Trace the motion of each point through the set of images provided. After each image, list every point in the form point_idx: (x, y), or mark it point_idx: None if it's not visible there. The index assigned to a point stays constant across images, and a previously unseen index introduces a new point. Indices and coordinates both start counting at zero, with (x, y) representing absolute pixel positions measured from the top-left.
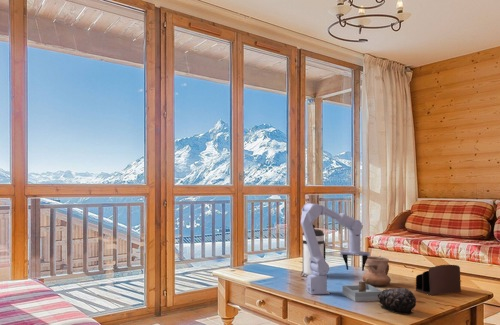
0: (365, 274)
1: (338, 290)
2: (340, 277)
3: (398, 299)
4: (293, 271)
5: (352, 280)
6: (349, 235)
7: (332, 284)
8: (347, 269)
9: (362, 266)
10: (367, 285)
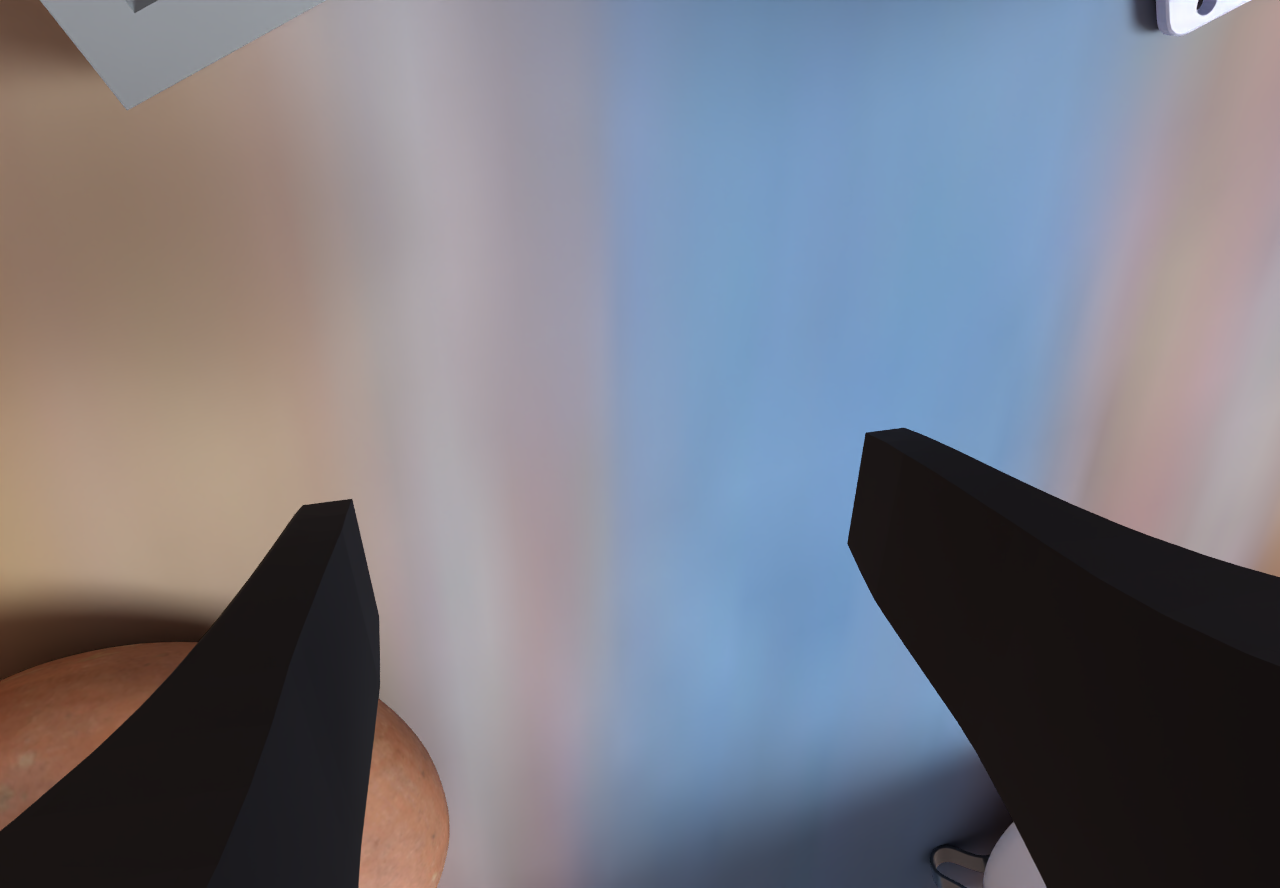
0: (382, 862)
1: (877, 109)
2: (758, 881)
3: None
4: None
5: (605, 824)
6: None
7: None
8: (894, 437)
9: (320, 590)
10: (157, 4)
